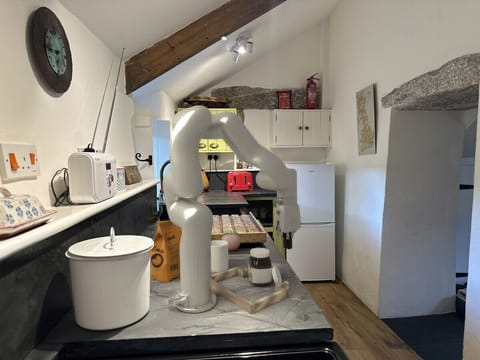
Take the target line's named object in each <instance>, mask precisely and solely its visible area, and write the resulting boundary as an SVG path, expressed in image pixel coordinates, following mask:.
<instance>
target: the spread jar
mask: <svg viewBox="0 0 480 360" xmlns="http://www.w3.org/2000/svg"><path fill="white" fill-rule="evenodd" d="M249 254H250V255H249V257H248V267H247V268H248V270H249V276H248V278H249V279H248V280H249V282H250V284H251V285H253V286H255V287H266V286H268V285H270V284H271V283H272V281H274V284H275V285H278V284H280V283H283V281H282V277H281V272H280V269H279V267H278V266H277V265H274V266H272V265H273V264H272V260H271V257H270V250H269V249H268V248H265V247H255V248H251V249H250V253H249Z"/></svg>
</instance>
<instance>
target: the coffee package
mask: <svg viewBox="0 0 480 360" xmlns="http://www.w3.org/2000/svg"><path fill="white" fill-rule="evenodd" d="M155 226H157V229H156V232H155V236H154V237H153V239H152V241H154V247H153V249H152V250H151V251H150V250H149V260H150V259H151V276H150V278H151V279H152V280H156V281H158V282H161V283H169V282H171V281H172V280H173V279H175V278H176V279H177V278H179V277H180V239H181V234H182V229H181V228H179V227H177V226H175V225H174V224H173V223H172V222H171V220H170V219H168V220H162V221H161V220H160V221H156V222H155Z"/></svg>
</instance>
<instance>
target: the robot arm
mask: <svg viewBox="0 0 480 360" xmlns="http://www.w3.org/2000/svg"><path fill="white" fill-rule="evenodd" d="M211 112H212V111H210V109H209V108H208V107H207V106H204V105H194V106H190V107H188V108H185V109H182V110H180V111H177V112H176V113H175V114H174V115H173V116H172V120H171V127H172V132H171V134H170V137H169V141H168V142H169V143H168V152H169V160H170V168H169V169H167V170H166V172H165V174H164V176H163V180H162V190H163V196H164V200H165V205H166V211H167V214H168V219H169V220H171V222H172V223H173V224H174V225H175V226H177V227H179V228H181V230H182V234H181V239H180V276H179V277H180V278H179V280H180V284H179V285H180V289H177V293H175V294H174V295H173V296H169V297H166V298H165V299H164V301H165V304H166V305H167V306H169V305H172V304H173V306H174V307H176V308H177V309H179V311H182V312H185V313H187V314H188V313H189V314H196V313H198V314H199V313H202V312H206V311H209V310H210V309H213V307H215V305H217V302H218V301H217V299H218V298H217V295H216V294H215V293H214V292H212V291H213V290H212V286H211V275H212V272H211V241H212V233H213V232H212V231H213V226H214V215H213V212H212V210H211V208H209V207H208V205H206V204H204V203H202V202H199V201H195V200H194V199H195V198H196V199H197V197H199V196H200V195H201V194H203V193H202V192H203V191H204V188H205V187H204V186H205V185H204V184H205V183H204V177H203V172H202V165H201V159H200V151H199V150H200V143H201V140H223V142H224V143H225V144H226V145H227V146H228V147H229V149H230V150H231V151H232V153H234V155H235V156H236V158H238V160H240V161H241V162H244V163H245V164H247V165H249V166H252V167H254V168H256V169H259V170H260V171H259V172H257V174H256V176H255V183H256V184H257V186H258V187H259V188H261V189H263V190H269V191H276V206H275V207H276V208H275V216H274V226H275V231H276V235H277V236H279V237H281V238H282V246H283V248H284V249H286V250H292V249H293V238H294V234H295V233H296V232H298V230H300V229H301V227H302V225H301V224H302V222H301V221H302V220H301V210H300V209H301V208H300V205H299V203H298V171H297V169H296V168H288V167H287V165H286V164H285V163H284V161H283V160H282V159H281V158H280V157H279V156H277V154H274V152H272V151H271V150H269V149H268V148H267V147H265V146H263V145H262V144H260V142H259V141H258V140H257V139H256V138H255V137H254V135H253V133H252V132H251V131H250V130H249V129H248V128H247V126H246V125H245V123H244V122H243V121H242V119H241V118H240V117H239V116H238V115H237V114H236V113H235V112H233V111H224V112H223V111H222V112H219V113H216V114H215V113H214V114H212V113H211Z"/></svg>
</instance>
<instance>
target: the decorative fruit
mask: <svg viewBox="0 0 480 360" xmlns="http://www.w3.org/2000/svg"><path fill="white" fill-rule="evenodd" d="M221 236H222V237H221V240H223V241H227V242H228V251H230V252H233V251H235V250H237V249H238V248H239V247H240V245H241V237H240V236H242V235H241V234H240V233H239V232H236V231H235V232H233V231H232V230H230V232H223V233H222V234H221Z"/></svg>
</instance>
